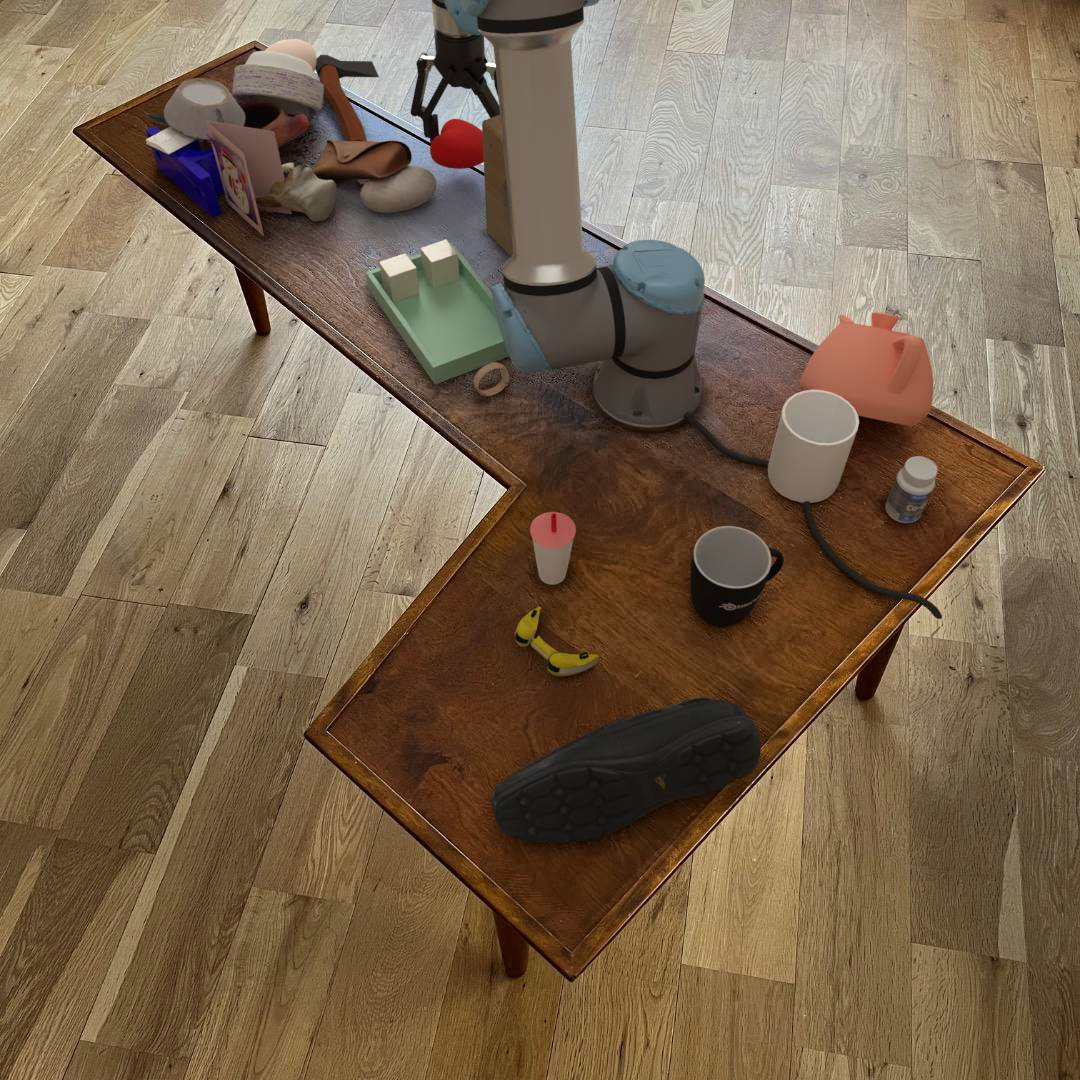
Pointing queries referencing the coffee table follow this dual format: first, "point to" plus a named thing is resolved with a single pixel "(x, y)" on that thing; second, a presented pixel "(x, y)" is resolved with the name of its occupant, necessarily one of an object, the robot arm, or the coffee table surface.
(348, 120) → the hand axe
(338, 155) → the sunglasses case
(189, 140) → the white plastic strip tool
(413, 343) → the ornament tray
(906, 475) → the pill bottle
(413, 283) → the beige short block
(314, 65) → the egg
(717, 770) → the loafer
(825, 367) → the teapot
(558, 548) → the cup
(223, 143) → the greeting card
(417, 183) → the decorative stone
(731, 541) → the mug
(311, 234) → the coffee table surface
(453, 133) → the heart
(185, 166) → the mounting bracket
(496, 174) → the decorative block
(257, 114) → the bowl
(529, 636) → the yellow curved segmented toy
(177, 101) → the bowl
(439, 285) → the cream block
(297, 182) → the ceramic sculpture
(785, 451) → the mug
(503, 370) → the beige ring band
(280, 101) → the paper bowls
